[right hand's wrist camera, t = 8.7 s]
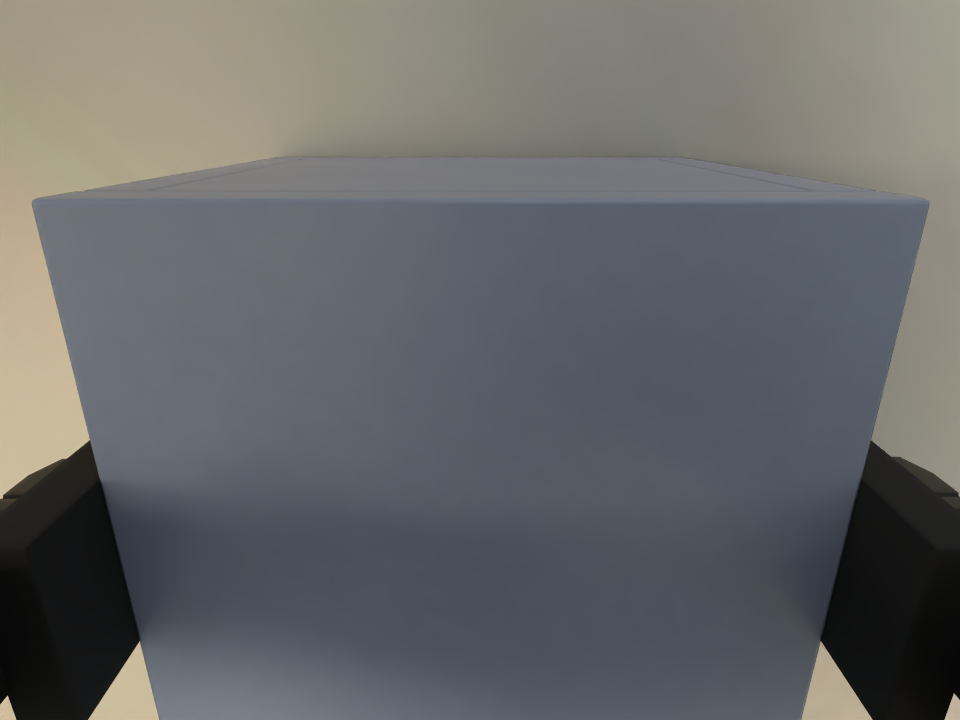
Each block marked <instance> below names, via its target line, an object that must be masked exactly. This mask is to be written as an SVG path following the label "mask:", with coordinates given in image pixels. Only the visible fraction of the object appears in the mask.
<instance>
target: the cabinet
mask: <svg viewBox="0 0 960 720" xmlns="http://www.w3.org/2000/svg"><path fill="white" fill-rule="evenodd" d="M32 207H33V211H34V215H35V219H36V223H37V227H38V231H39V235H40V239H41V243H42V247H43V251H44V255H45V260H46V264H47V268H48V272H49V276H50V280H51V284H52V288H53V292H54V296H55V300H56V304H57V308H58V312H59V316H60V320H61V324H62V328H63V332H64V336H65V340H66V344H67V348H68V352H69V357H70V361H71V365H72V369H73V373H74V377H75V381H76V385H77V389H78V393H79V397H80V401H81V405H82V409H83V413H84V417H85V421H86V425H87V429H88V433H89V437H90V441H91V445H92V449H93V453H94V458H95V462H96V466H97V470H98V474H99V478H100V482H101V486H102V490H103V494H104V498H105V502H106V506H107V510H108V514H109V518H110V522H111V526H112V530H113V534H114V538H115V542H116V546H117V550H118V555H119V559H120V563H121V567H122V571H123V575H124V579H125V583H126V587H127V591H128V595H129V599H130V603H131V607H132V611H133V615H134V619H135V623H136V627H137V631H138V635H139V639H140V643H141V647H142V651H143V656H144V660H145V664H146V668H147V672H148V676H149V680H150V684H151V688H152V692H153V696H154V700H155V704H156V708H157V712H158V716H159V720H801V718H802V714H803V710H804V706H805V702H806V698H807V694H808V690H809V686H810V682H811V678H812V674H813V670H814V666H815V662H816V658H817V654H818V650H819V646H820V642H821V638H822V634H823V630H824V626H825V622H826V618H827V614H828V609H829V605H830V601H831V597H832V593H833V589H834V585H835V581H836V577H837V573H838V569H839V565H840V561H841V557H842V553H843V549H844V545H845V541H846V537H847V533H848V529H849V525H850V521H851V517H852V513H853V509H854V505H855V501H856V497H857V493H858V489H859V485H860V481H861V477H862V473H863V469H864V465H865V461H866V457H867V453H868V449H869V445H870V441H871V437H872V433H873V429H874V425H875V421H876V417H877V413H878V409H879V405H880V401H881V397H882V393H883V389H884V385H885V381H886V377H887V373H888V369H889V365H890V361H891V357H892V353H893V349H894V345H895V341H896V337H897V333H898V329H899V325H900V321H901V317H902V313H903V309H904V305H905V301H906V297H907V293H908V289H909V285H910V281H911V277H912V273H913V269H914V265H915V261H916V257H917V253H918V249H919V244H920V240H921V236H922V232H923V228H924V224H925V220H926V216H927V212H928V208H929V201H928V200H926V199H924V198H918V197H912V196H907V195H901V194H895V193H889V192H877V191H875V190H869V189H863V188H858V187H852V186H846V185H840V184H834V183H828V182H823V181H817V180H811V179H805V178H799V177H793V176H788V175H782V174H776V173H770V172H764V171H758V170H752V169H747V168H741V167H735V166H729V165H723V164H717V163H712V162H706V161H700V160H694V159H689V158H683V157H276V158H271V159H265V160H259V161H253V162H247V163H241V164H236V165H230V166H224V167H218V168H212V169H206V170H201V171H195V172H189V173H183V174H177V175H171V176H165V177H160V178H154V179H148V180H142V181H136V182H130V183H125V184H119V185H113V186H107V187H101V188H95V189H89V190H85V191H76V192H70V193H64V194H58V195H52V196H46V197H40V198H36V199H34V200H33V201H32Z"/></svg>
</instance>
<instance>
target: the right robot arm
mask: <svg viewBox="0 0 960 720" xmlns="http://www.w3.org/2000/svg"><path fill="white" fill-rule="evenodd" d="M139 641H140V639H139V635H138V631H137V627H136V623H135V619H134V615H133V611H132V607H131V603H130V599H129V595H128V591H127V587H126V583H125V579H124V575H123V571H122V567H121V563H120V559H119V555H118V550H117V546H116V542H115V538H114V534H113V530H112V526H111V522H110V518H109V514H108V510H107V506H106V502H105V498H104V494H103V490H102V486H101V482H100V478H99V474H98V470H97V466H96V462H95V458H94V453H93V449H92V445H91V441H88V442H87V443H86V444H85V445H83V446H82V447H81V448H80V449H79V450H77V451H76V452H75V453H74V454H72V455H71V456H70V457H69V458H67V459H61V460H59V461H57V462H55V463H53V464H51V465H49V466H47V467H45V468H43V469H41V470H39V471H37V472H35V473H33V474H31V475H28V476H27V477H26V478H25V479H23V480H22V481H21V482H19V483H18V484H17V485H16V486H14V487H13V488H12V489H10V490H9V491H8V492H7V493H5V494H4V495H3V499H0V704H1V703H2V701H3V700H4V699H5V698H6V697H7V695H8V697H9V700H10V703H11V705H12V708H13V711H14V714H15V717H16V720H88V719H89V717H90V716H91V714H92V713H93V711H94V710H95V708H96V707H97V705H98V704H99V702H100V701H101V699H102V698H103V696H104V694H105V693H106V691H107V690H108V688H109V687H110V685H111V684H112V682H113V681H114V679H115V678H116V676H117V675H118V673H119V672H120V670H121V669H122V667H123V666H124V664H125V663H126V661H127V660H128V658H129V656H130V655H131V653H132V652H133V650H134V649H135V647H136V646H137V644H138V643H139ZM821 642H822V643H823V645H824V646H825V648H826V649H827V651H828V652H829V654H830V655H831V657H832V658H833V660H834V662H835V663H836V665H837V666H838V668H839V669H840V671H841V672H842V674H843V675H844V677H845V678H846V680H847V681H848V683H849V684H850V686H851V687H852V689H853V690H854V692H855V693H856V695H857V696H858V698H859V700H860V701H861V703H862V704H863V706H864V707H865V709H866V710H867V712H868V713H869V715H870V716H871V718H872V719H873V720H944V719H945V716H946V714H947V711H948V708H949V705H950V702H951V700H952V697H953V694H954V693H955V695H956V696H957V697H958V698H959V699H960V497H959V495H958V492H957V491H955V490H954V489H953V488H951V487H950V486H949V485H948V484H946V483H945V482H944V481H942V480H941V479H940V478H939V477H937V476H936V475H935V474H933V473H931V472H929V471H927V470H925V469H923V468H921V467H919V466H917V465H915V464H913V463H911V462H909V461H907V460H905V459H903V458H900V457H891V456H890V455H888V454H887V453H886V452H885V451H883V450H882V449H881V448H880V447H878V446H877V445H876V444H875V443H874V442H872V441H870V445H869V449H868V453H867V457H866V461H865V465H864V469H863V473H862V477H861V481H860V485H859V489H858V493H857V497H856V501H855V505H854V509H853V513H852V517H851V521H850V525H849V529H848V533H847V537H846V541H845V545H844V549H843V553H842V557H841V561H840V565H839V569H838V573H837V577H836V581H835V585H834V589H833V593H832V597H831V601H830V605H829V609H828V614H827V618H826V622H825V626H824V630H823V634H822V638H821Z"/></svg>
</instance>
